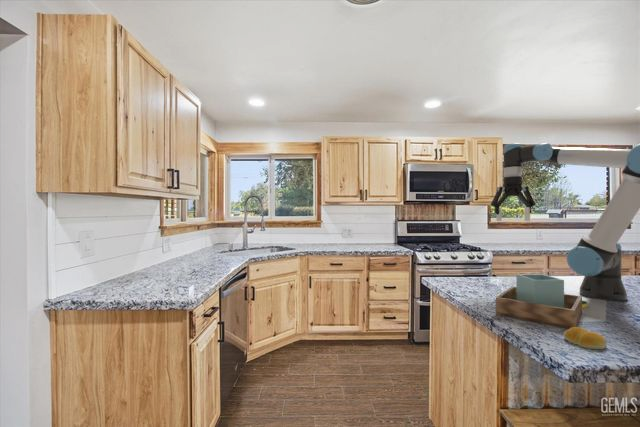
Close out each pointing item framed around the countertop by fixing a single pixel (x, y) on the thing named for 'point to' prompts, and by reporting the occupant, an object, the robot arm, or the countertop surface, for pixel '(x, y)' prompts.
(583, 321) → the countertop surface
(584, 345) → the bread roll
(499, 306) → the big walnut crate
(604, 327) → the countertop surface
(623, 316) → the countertop surface
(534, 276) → the small teal crate
